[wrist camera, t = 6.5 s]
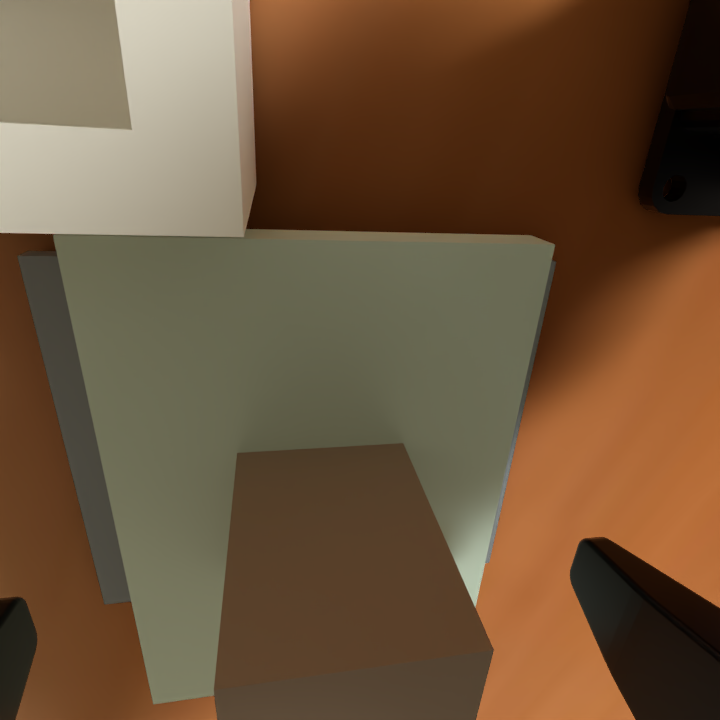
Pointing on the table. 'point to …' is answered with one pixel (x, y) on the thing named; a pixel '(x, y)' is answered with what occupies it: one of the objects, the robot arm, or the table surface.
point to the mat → (78, 423)
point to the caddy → (126, 117)
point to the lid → (307, 456)
